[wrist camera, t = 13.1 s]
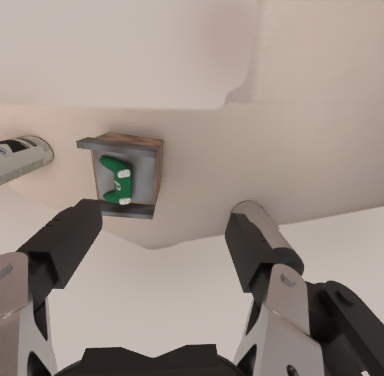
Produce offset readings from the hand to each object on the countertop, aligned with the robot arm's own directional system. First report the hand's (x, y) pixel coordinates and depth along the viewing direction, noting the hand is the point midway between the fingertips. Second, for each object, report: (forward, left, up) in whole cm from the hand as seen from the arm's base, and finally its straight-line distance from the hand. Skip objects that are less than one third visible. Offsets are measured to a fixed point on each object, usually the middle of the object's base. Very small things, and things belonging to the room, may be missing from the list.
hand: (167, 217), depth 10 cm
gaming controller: (+10, +8, -21) cm, 25 cm away
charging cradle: (+9, +8, -30) cm, 32 cm away
